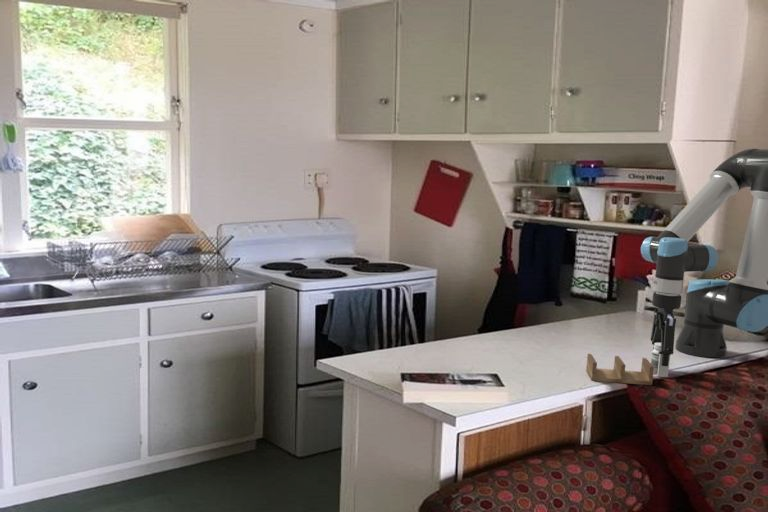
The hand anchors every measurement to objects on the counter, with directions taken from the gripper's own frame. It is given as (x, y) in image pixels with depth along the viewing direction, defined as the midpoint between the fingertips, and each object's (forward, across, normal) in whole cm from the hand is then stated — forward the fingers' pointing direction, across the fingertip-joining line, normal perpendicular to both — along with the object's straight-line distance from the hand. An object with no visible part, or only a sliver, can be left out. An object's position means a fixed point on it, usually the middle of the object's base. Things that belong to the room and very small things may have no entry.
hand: (658, 372), depth 229 cm
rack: (0, +8, -13) cm, 15 cm away
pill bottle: (0, 0, 0) cm, 0 cm away
